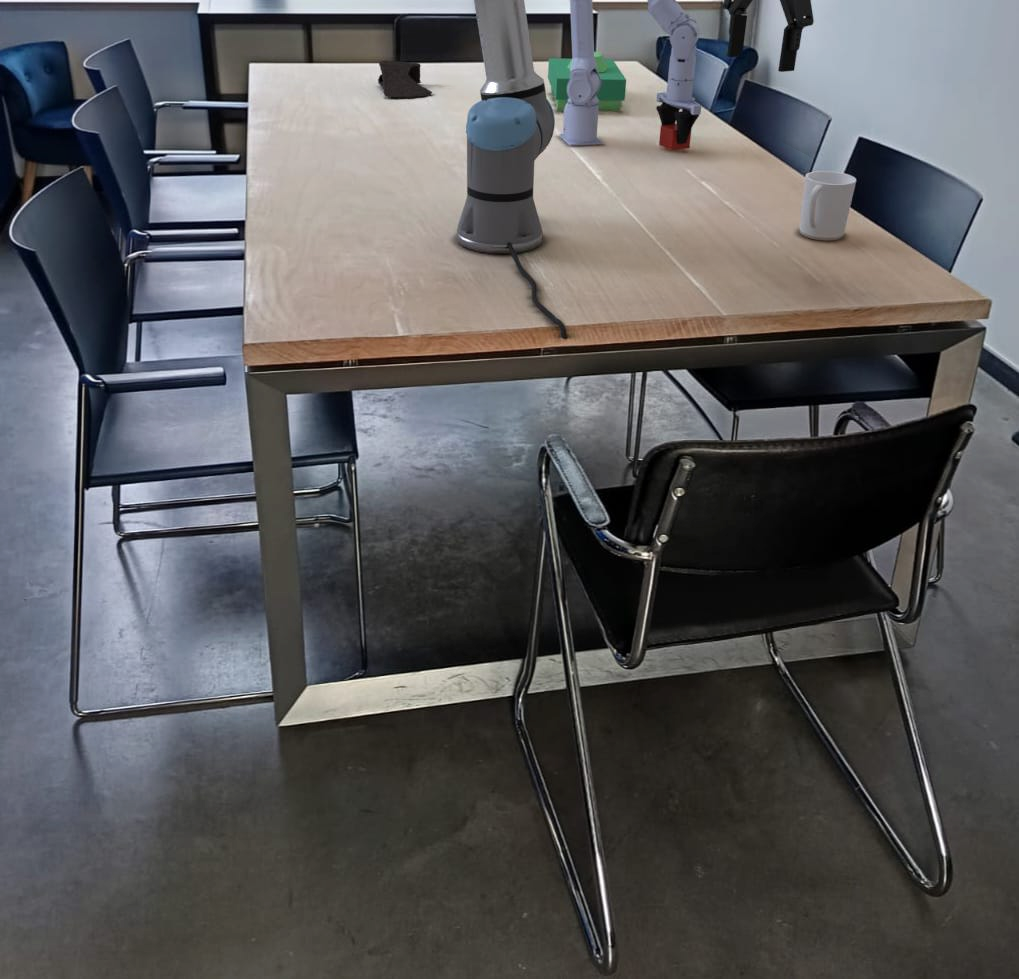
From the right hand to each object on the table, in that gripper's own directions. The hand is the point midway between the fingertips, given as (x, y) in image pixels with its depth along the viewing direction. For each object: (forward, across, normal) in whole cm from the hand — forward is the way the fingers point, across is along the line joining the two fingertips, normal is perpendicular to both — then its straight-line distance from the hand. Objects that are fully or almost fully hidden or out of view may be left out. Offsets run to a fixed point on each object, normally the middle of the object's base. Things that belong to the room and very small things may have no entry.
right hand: (674, 140), depth 251 cm
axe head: (+2, +82, +33) cm, 88 cm away
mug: (+2, -62, +11) cm, 63 cm away
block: (+1, 0, 0) cm, 1 cm away
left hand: (-28, -57, +26) cm, 68 cm away
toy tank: (+2, +54, -8) cm, 54 cm away
